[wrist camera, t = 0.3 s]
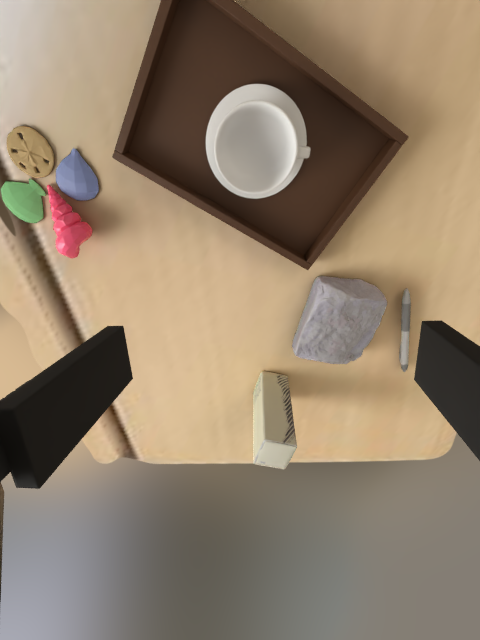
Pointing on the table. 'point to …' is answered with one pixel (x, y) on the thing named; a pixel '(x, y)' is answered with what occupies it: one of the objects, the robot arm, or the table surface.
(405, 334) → the pen
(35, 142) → the toy pieces
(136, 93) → the tray
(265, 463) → the box
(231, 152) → the teacup
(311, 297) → the stone block
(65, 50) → the table surface
